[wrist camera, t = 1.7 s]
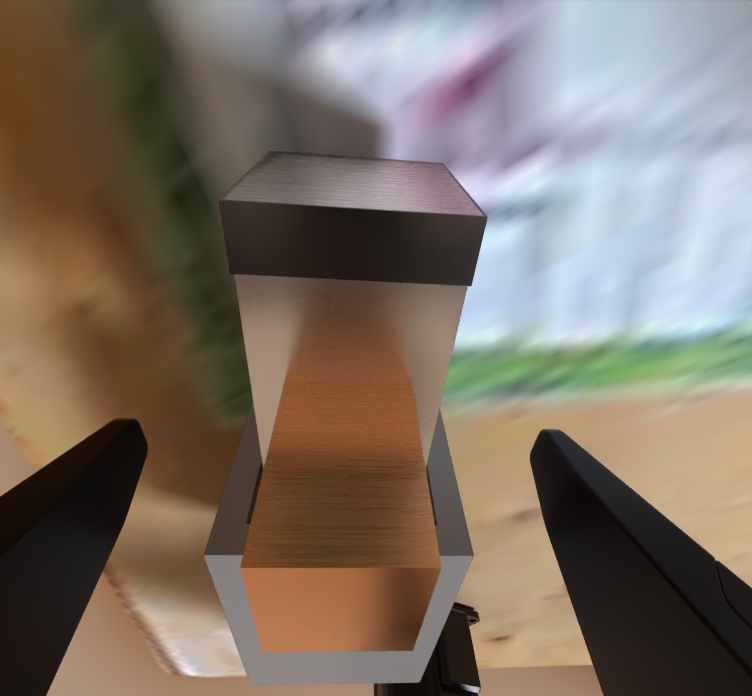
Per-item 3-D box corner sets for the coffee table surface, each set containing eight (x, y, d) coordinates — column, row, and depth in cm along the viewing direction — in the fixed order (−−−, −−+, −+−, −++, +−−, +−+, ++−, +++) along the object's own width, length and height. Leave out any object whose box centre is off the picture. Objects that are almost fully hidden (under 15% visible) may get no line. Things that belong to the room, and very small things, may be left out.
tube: (382, 548, 20) (392, 771, 14) (300, 548, 20) (272, 775, 13) (442, 163, 9) (605, 357, 3) (269, 150, 9) (76, 338, 3)
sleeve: (404, 525, 21) (419, 682, 16) (278, 524, 21) (250, 685, 15) (433, 382, 15) (473, 556, 10) (259, 377, 15) (203, 555, 9)
